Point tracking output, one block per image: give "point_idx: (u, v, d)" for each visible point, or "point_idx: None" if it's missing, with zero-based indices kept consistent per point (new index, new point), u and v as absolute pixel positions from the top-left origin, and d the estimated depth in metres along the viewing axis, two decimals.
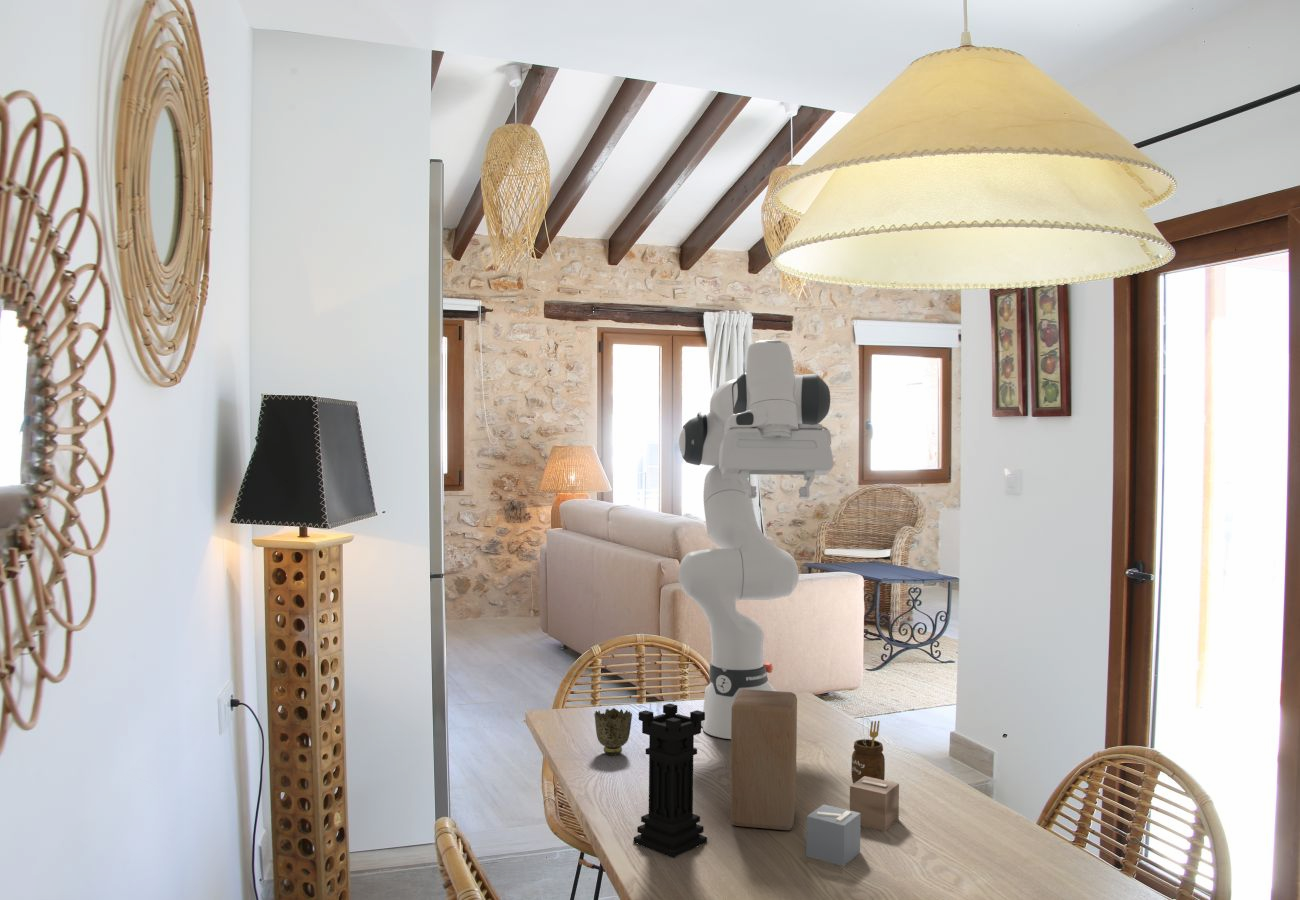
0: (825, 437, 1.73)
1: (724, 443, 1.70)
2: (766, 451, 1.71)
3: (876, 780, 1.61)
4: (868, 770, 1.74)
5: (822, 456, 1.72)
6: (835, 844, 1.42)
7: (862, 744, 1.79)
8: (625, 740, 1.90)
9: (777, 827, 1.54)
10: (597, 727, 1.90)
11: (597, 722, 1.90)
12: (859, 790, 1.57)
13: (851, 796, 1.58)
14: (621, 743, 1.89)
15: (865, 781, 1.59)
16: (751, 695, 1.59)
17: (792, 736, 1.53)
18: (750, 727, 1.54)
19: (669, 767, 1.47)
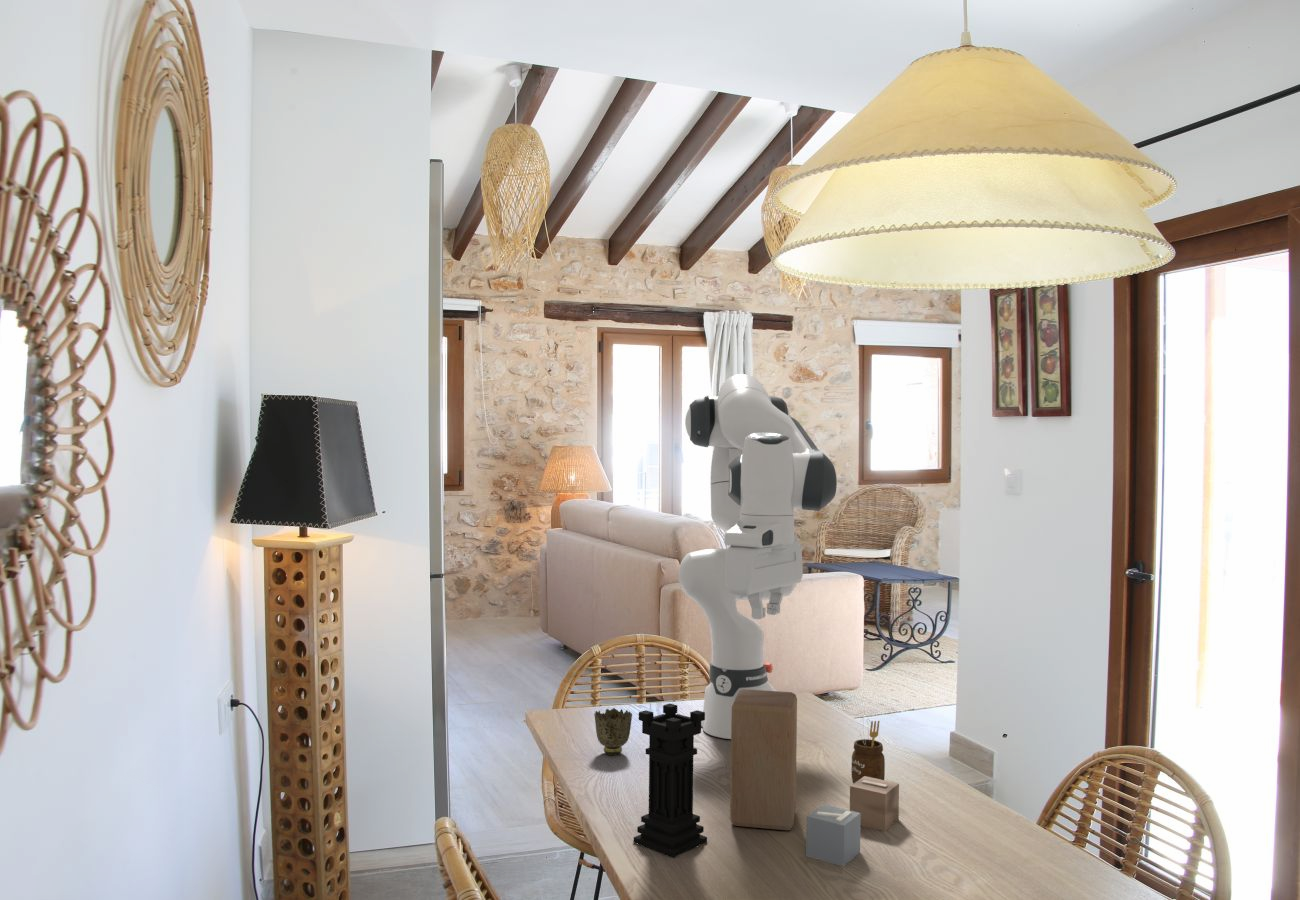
0: (800, 547, 1.65)
1: (749, 567, 1.50)
2: (770, 569, 1.56)
3: (876, 780, 1.61)
4: (868, 770, 1.74)
5: (798, 569, 1.64)
6: (835, 844, 1.42)
7: (862, 744, 1.79)
8: (625, 740, 1.90)
9: (777, 827, 1.54)
10: (597, 727, 1.90)
11: (597, 722, 1.90)
12: (859, 790, 1.57)
13: (851, 796, 1.58)
14: (621, 743, 1.89)
15: (865, 781, 1.59)
16: (751, 695, 1.59)
17: (792, 736, 1.53)
18: (750, 727, 1.54)
19: (669, 767, 1.47)
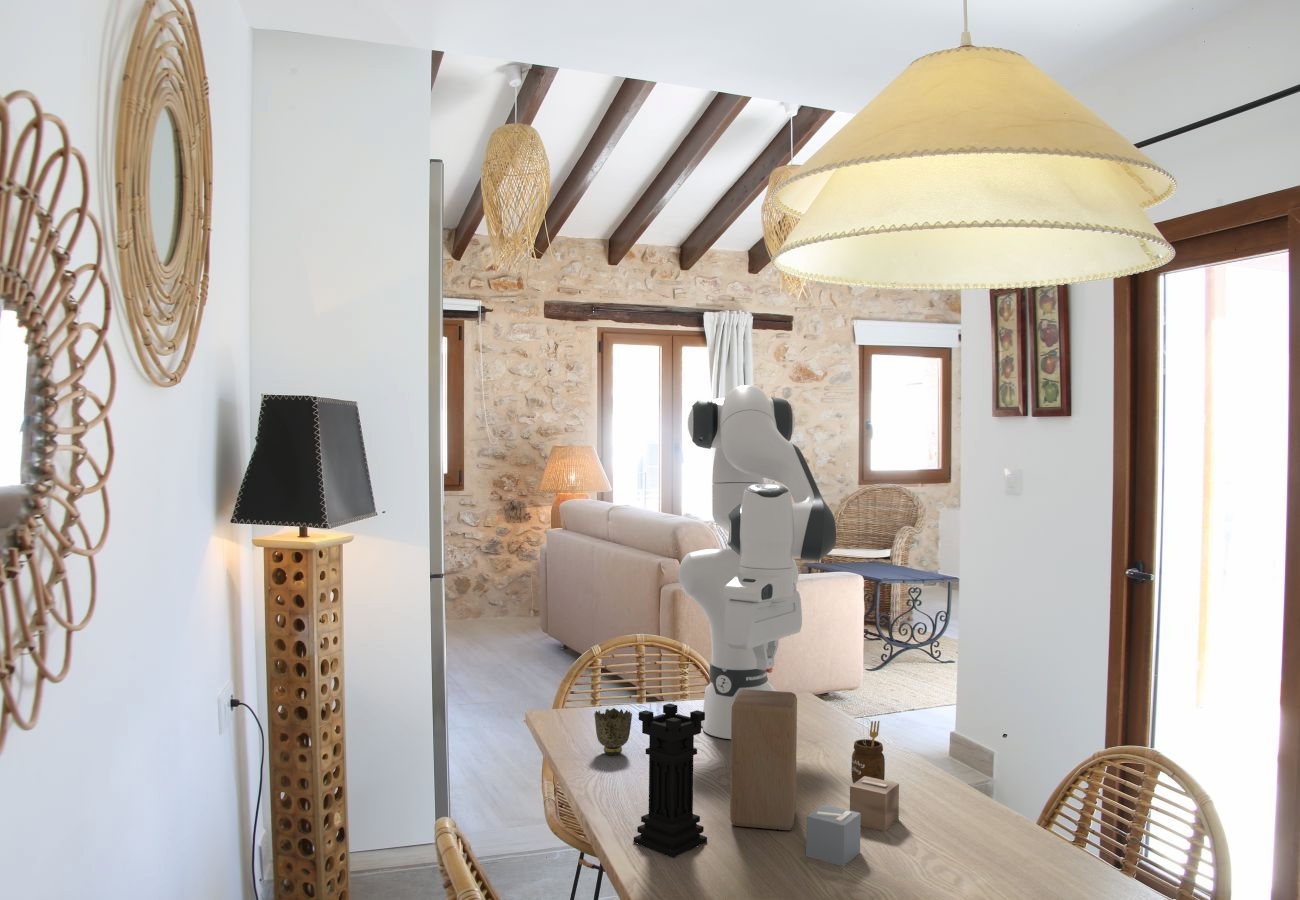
0: (799, 597, 1.65)
1: (749, 621, 1.50)
2: (769, 622, 1.56)
3: (876, 780, 1.61)
4: (868, 770, 1.74)
5: (797, 619, 1.64)
6: (835, 844, 1.42)
7: (862, 744, 1.79)
8: (625, 740, 1.90)
9: (777, 827, 1.54)
10: (597, 727, 1.90)
11: (597, 722, 1.90)
12: (859, 790, 1.57)
13: (851, 796, 1.58)
14: (621, 743, 1.89)
15: (865, 781, 1.59)
16: (751, 695, 1.60)
17: (792, 736, 1.53)
18: (750, 727, 1.54)
19: (669, 767, 1.47)
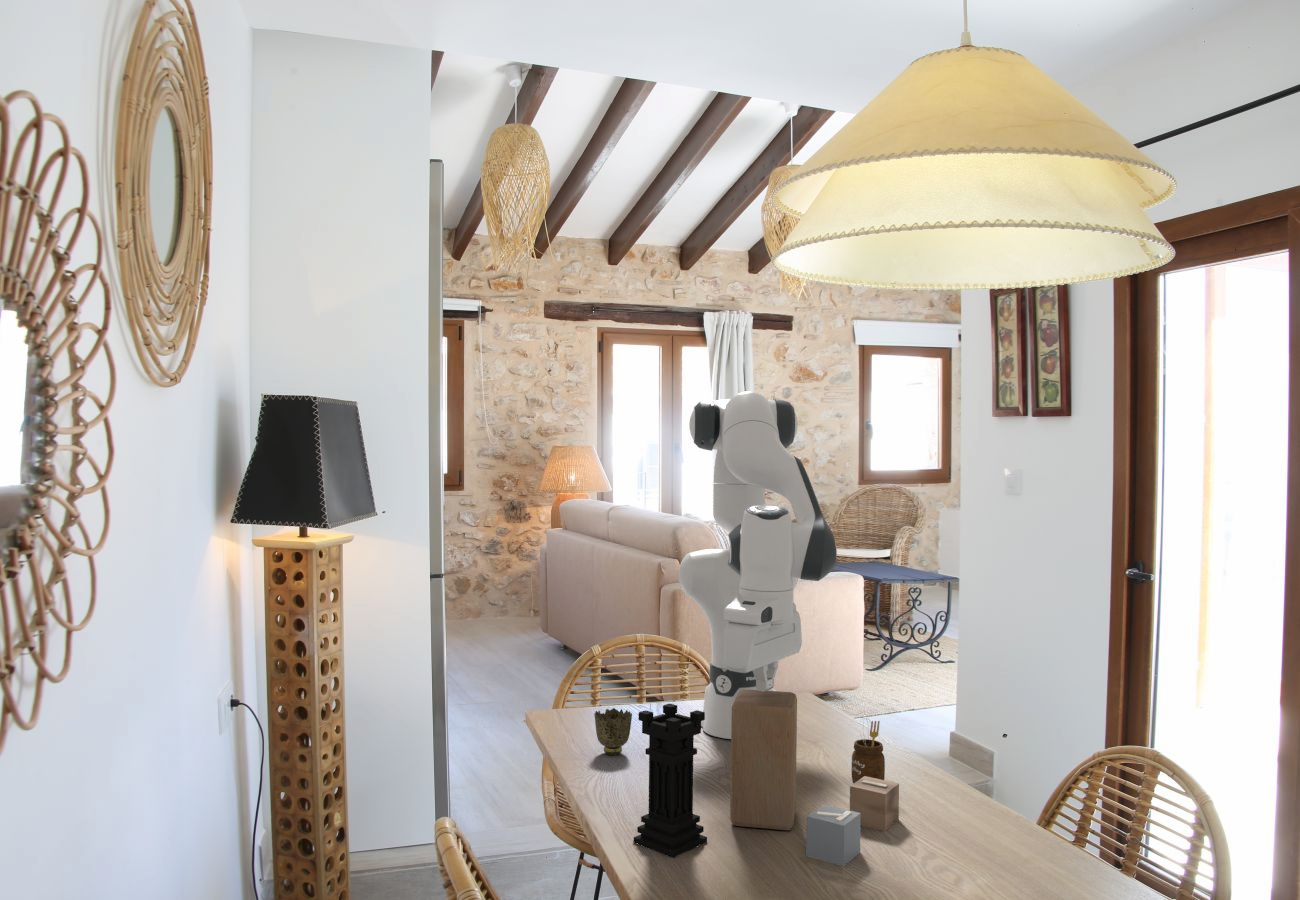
0: (799, 617, 1.65)
1: (748, 645, 1.50)
2: (769, 644, 1.56)
3: (876, 780, 1.61)
4: (868, 770, 1.74)
5: (797, 639, 1.64)
6: (835, 844, 1.42)
7: (862, 744, 1.79)
8: (625, 740, 1.90)
9: (777, 827, 1.54)
10: (597, 727, 1.90)
11: (597, 722, 1.90)
12: (859, 790, 1.57)
13: (851, 796, 1.58)
14: (621, 743, 1.89)
15: (865, 781, 1.59)
16: (751, 695, 1.59)
17: (792, 736, 1.53)
18: (750, 727, 1.54)
19: (669, 767, 1.47)
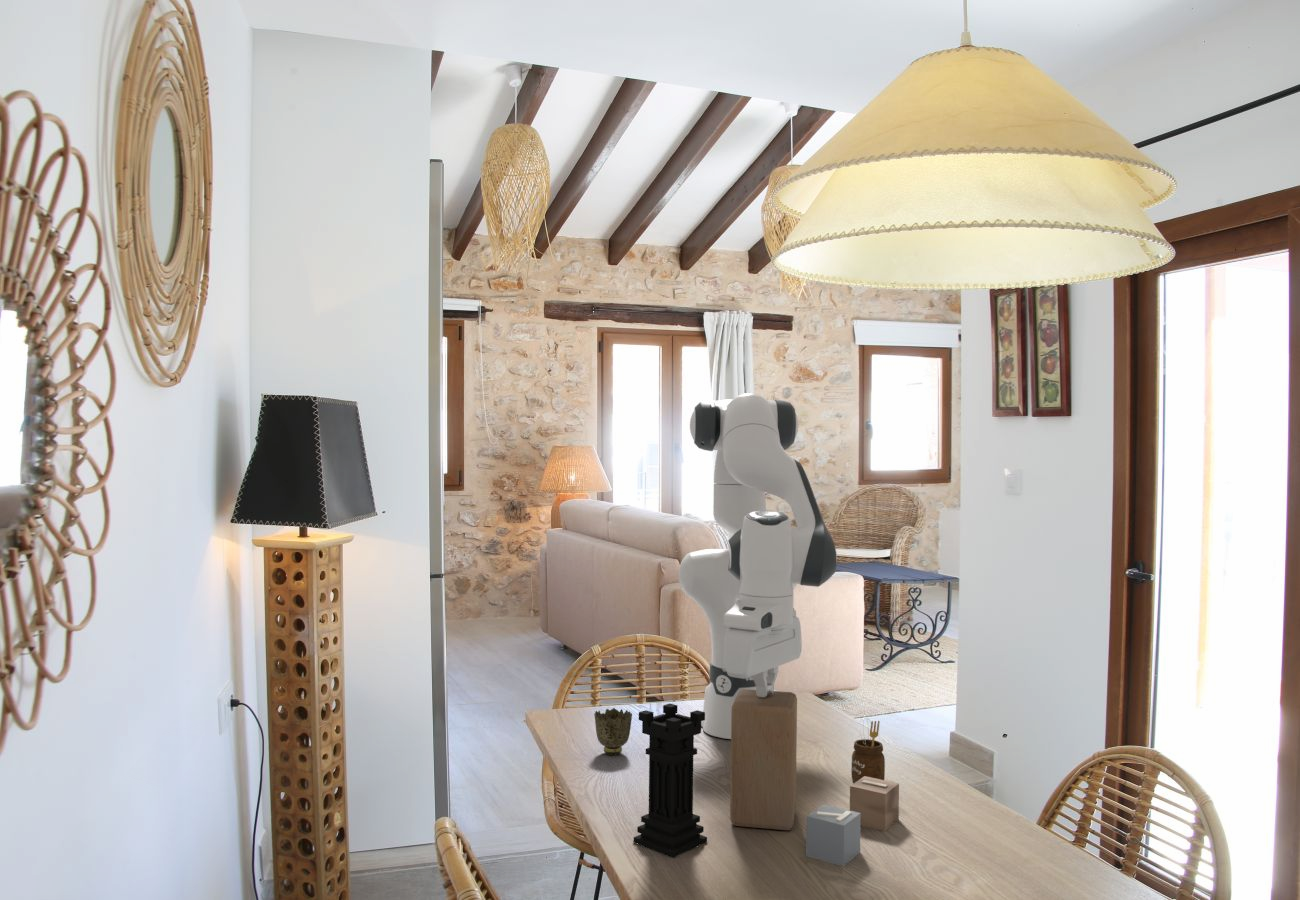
0: (799, 623, 1.65)
1: (748, 650, 1.50)
2: (769, 650, 1.56)
3: (876, 780, 1.61)
4: (868, 770, 1.74)
5: (797, 645, 1.64)
6: (835, 844, 1.42)
7: (862, 744, 1.79)
8: (625, 740, 1.90)
9: (777, 827, 1.54)
10: (597, 727, 1.90)
11: (597, 722, 1.90)
12: (859, 790, 1.57)
13: (851, 796, 1.58)
14: (621, 743, 1.89)
15: (865, 781, 1.59)
16: (751, 695, 1.59)
17: (792, 736, 1.53)
18: (750, 727, 1.54)
19: (669, 767, 1.47)
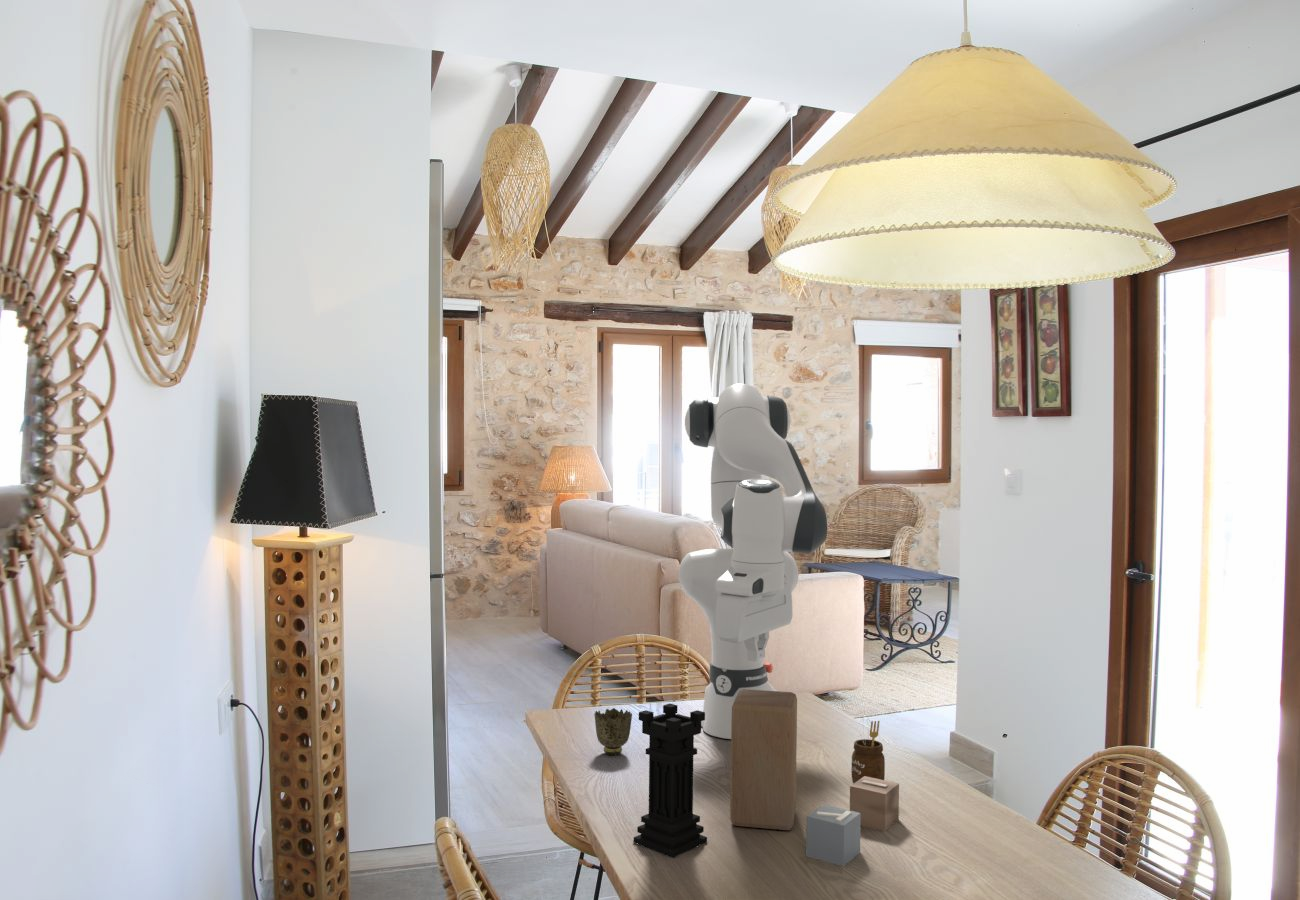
0: (790, 589, 1.68)
1: (740, 615, 1.53)
2: (760, 615, 1.59)
3: (876, 780, 1.61)
4: (868, 770, 1.74)
5: (788, 611, 1.67)
6: (835, 844, 1.42)
7: (862, 744, 1.79)
8: (625, 740, 1.90)
9: (777, 827, 1.54)
10: (597, 727, 1.90)
11: (597, 722, 1.90)
12: (859, 790, 1.57)
13: (851, 796, 1.58)
14: (621, 743, 1.89)
15: (865, 781, 1.59)
16: (751, 695, 1.60)
17: (792, 736, 1.53)
18: (750, 727, 1.54)
19: (669, 767, 1.47)
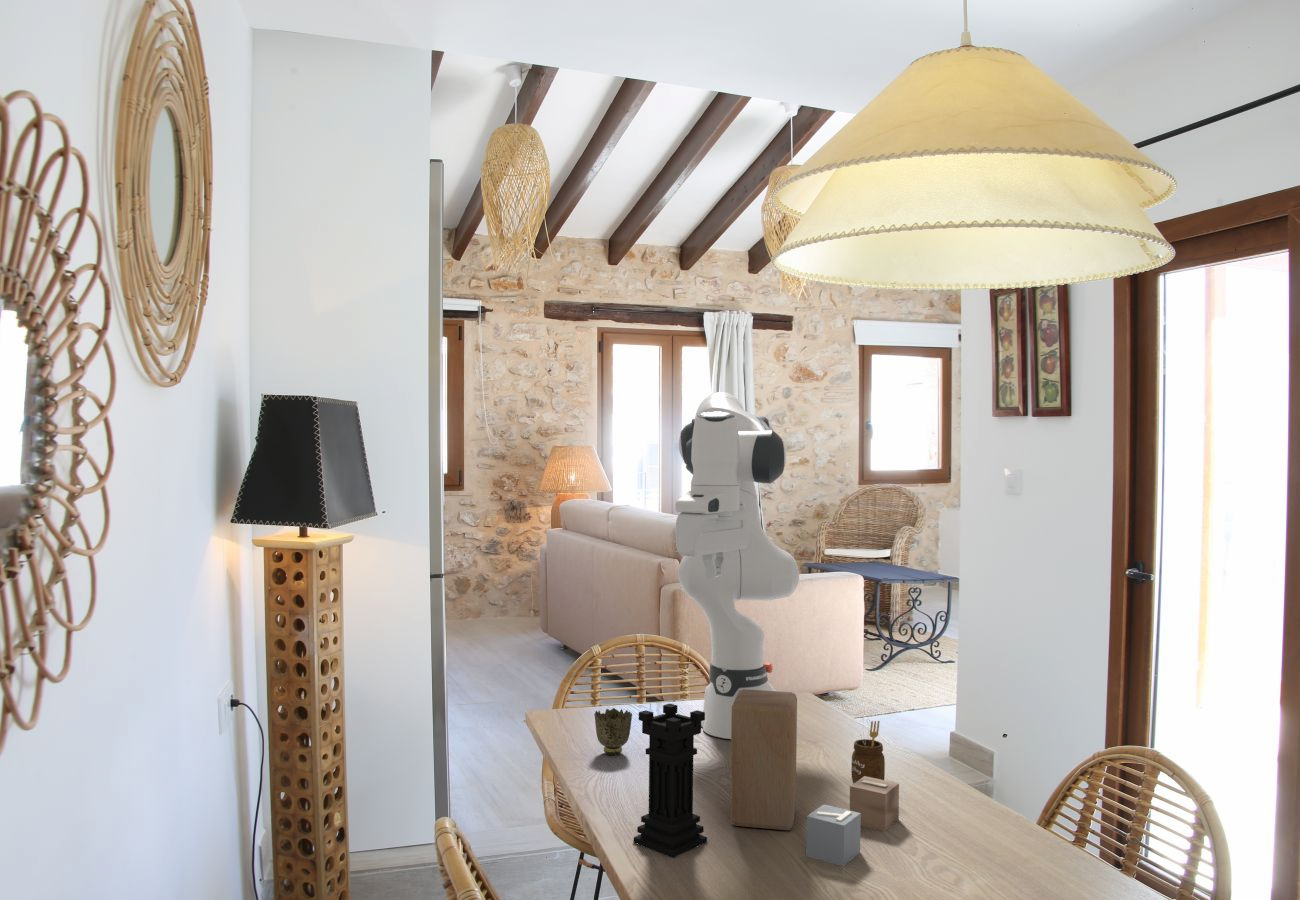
0: (747, 516, 1.82)
1: (696, 530, 1.67)
2: (717, 534, 1.73)
3: (876, 780, 1.61)
4: (868, 770, 1.74)
5: (744, 535, 1.82)
6: (835, 844, 1.42)
7: (862, 744, 1.79)
8: (625, 740, 1.90)
9: (777, 827, 1.54)
10: (597, 727, 1.90)
11: (597, 722, 1.90)
12: (859, 790, 1.57)
13: (851, 796, 1.58)
14: (621, 743, 1.89)
15: (865, 781, 1.59)
16: (751, 695, 1.60)
17: (792, 736, 1.53)
18: (750, 727, 1.54)
19: (669, 767, 1.47)
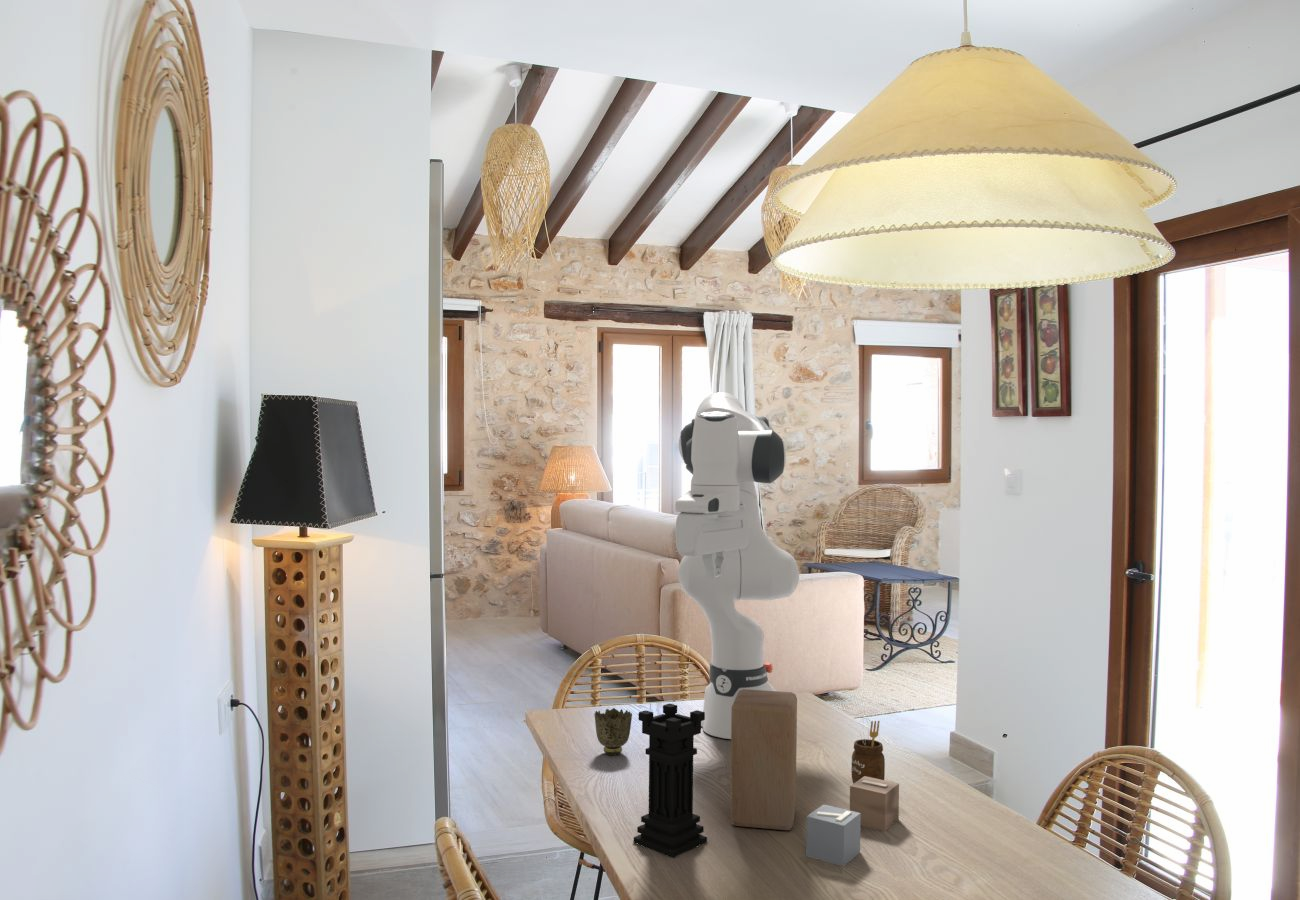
0: (747, 516, 1.82)
1: (696, 530, 1.67)
2: (717, 534, 1.73)
3: (876, 780, 1.61)
4: (868, 770, 1.74)
5: (744, 535, 1.82)
6: (835, 844, 1.42)
7: (862, 744, 1.79)
8: (625, 740, 1.90)
9: (777, 827, 1.54)
10: (597, 727, 1.90)
11: (597, 722, 1.90)
12: (859, 790, 1.57)
13: (851, 796, 1.58)
14: (621, 743, 1.89)
15: (865, 781, 1.59)
16: (751, 695, 1.59)
17: (792, 736, 1.53)
18: (750, 727, 1.54)
19: (669, 767, 1.47)
